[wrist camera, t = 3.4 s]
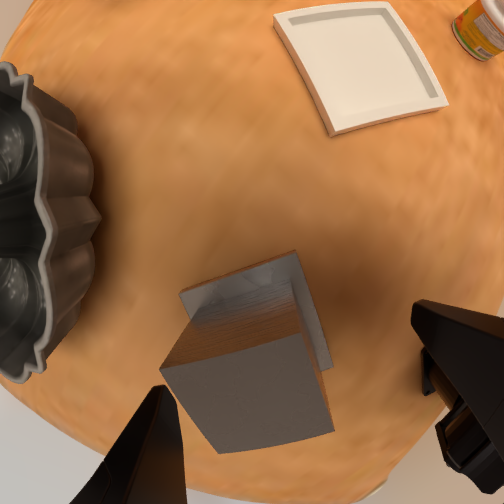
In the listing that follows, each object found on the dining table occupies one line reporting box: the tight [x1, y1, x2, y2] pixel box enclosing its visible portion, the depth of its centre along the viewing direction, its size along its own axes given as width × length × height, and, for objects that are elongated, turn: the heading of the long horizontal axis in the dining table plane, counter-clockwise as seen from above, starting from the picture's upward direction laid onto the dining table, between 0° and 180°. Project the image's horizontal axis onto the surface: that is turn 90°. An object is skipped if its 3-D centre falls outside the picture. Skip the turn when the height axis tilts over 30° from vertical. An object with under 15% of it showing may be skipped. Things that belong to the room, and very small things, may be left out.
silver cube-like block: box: [159, 250, 335, 454], centre depth 16 cm, size 10×9×9 cm
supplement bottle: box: [452, 0, 504, 61], centre depth 9 cm, size 5×5×10 cm
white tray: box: [273, 2, 449, 137], centre depth 15 cm, size 11×11×2 cm
